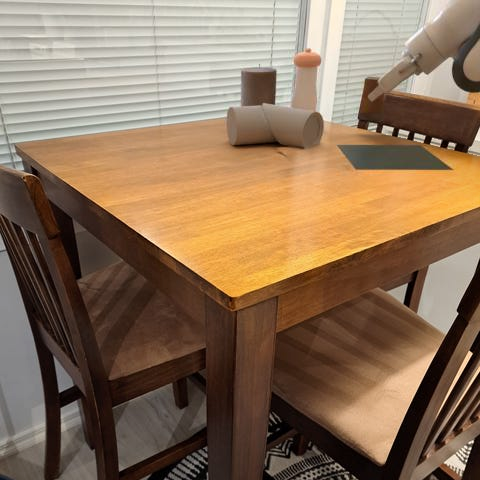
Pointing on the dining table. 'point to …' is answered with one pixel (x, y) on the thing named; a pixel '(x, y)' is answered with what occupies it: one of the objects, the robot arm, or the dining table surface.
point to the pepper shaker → (306, 80)
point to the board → (392, 157)
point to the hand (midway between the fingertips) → (372, 97)
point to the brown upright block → (372, 108)
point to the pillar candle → (258, 86)
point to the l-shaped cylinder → (274, 125)
